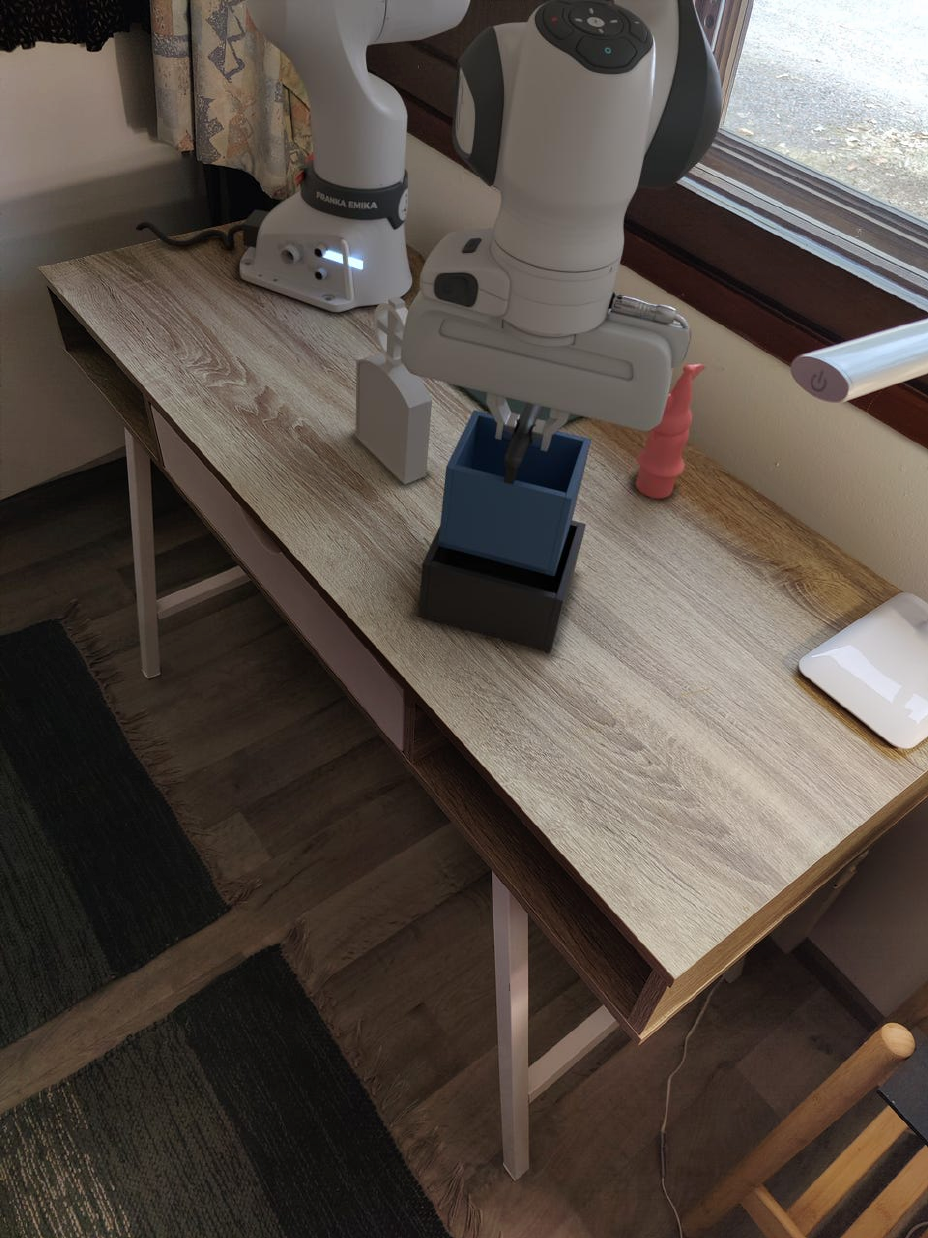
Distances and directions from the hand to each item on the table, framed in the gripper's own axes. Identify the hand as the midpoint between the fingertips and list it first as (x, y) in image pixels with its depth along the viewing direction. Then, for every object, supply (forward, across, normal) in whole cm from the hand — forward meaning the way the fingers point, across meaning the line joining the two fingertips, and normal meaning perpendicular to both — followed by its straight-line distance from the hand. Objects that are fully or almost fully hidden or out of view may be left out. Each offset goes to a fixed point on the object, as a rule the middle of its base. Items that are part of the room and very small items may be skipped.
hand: (522, 441), depth 76 cm
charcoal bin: (+18, 0, 0) cm, 18 cm away
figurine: (+18, -12, -22) cm, 31 cm away
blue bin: (+10, 0, 0) cm, 10 cm away
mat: (+18, +6, -32) cm, 37 cm away
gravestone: (+18, +16, -16) cm, 29 cm away
